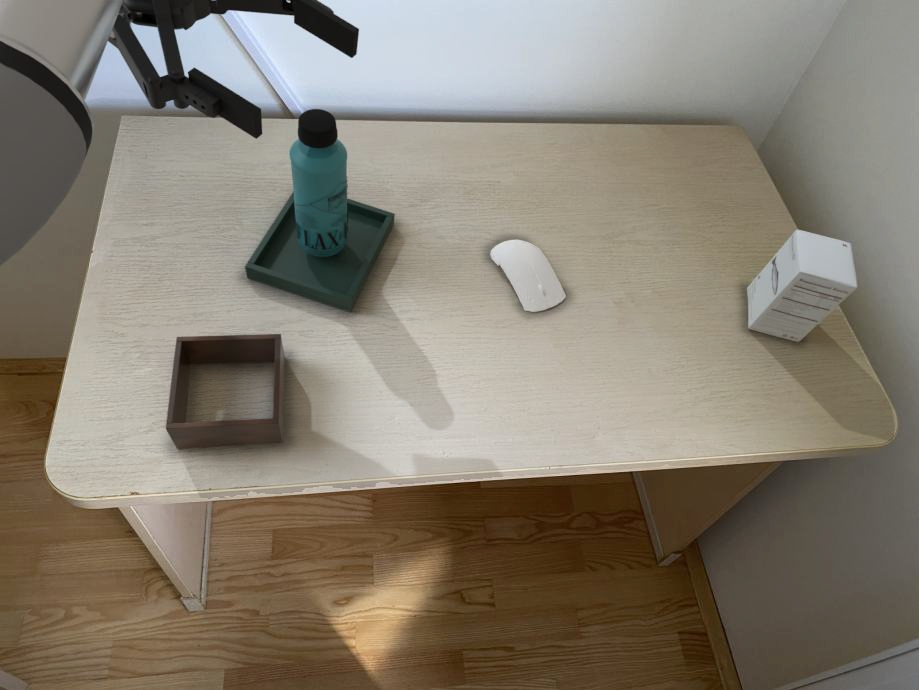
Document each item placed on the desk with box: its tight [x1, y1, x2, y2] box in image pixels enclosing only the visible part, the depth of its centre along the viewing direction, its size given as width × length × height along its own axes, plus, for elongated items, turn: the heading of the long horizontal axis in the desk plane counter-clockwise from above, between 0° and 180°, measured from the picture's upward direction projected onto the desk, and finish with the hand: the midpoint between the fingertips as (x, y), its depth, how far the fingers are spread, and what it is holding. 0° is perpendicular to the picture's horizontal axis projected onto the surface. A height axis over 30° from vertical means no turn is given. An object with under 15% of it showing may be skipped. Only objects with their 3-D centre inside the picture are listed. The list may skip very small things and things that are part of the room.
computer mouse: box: [489, 239, 567, 313], centre depth 87 cm, size 7×12×2 cm, turn 28°
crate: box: [165, 333, 286, 450], centre depth 71 cm, size 11×11×5 cm
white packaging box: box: [746, 229, 858, 343], centre depth 85 cm, size 7×7×13 cm
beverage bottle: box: [288, 108, 349, 257], centre depth 77 cm, size 6×7×20 cm
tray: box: [244, 190, 396, 313], centre depth 85 cm, size 16×14×2 cm
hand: (310, 81), depth 57 cm, fingers open, 13 cm apart
